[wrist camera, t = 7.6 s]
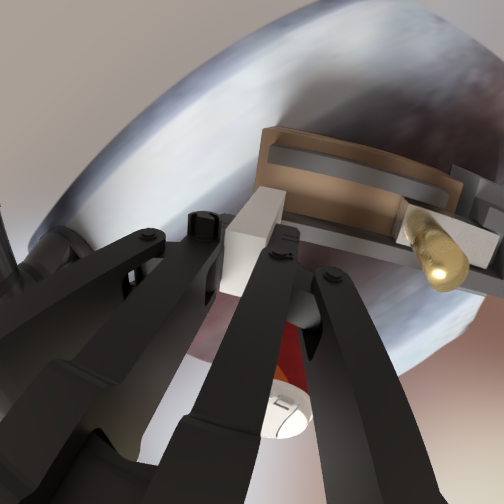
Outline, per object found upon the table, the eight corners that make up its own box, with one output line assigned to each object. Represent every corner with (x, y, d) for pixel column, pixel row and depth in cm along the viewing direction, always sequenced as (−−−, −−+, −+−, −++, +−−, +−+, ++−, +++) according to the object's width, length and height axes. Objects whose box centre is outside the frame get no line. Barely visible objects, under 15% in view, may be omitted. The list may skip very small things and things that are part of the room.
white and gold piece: (391, 232, 20) (416, 289, 14) (402, 196, 19) (437, 239, 12) (477, 258, 19) (518, 313, 12) (490, 227, 18) (538, 274, 11)
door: (263, 205, 29) (242, 238, 22) (275, 126, 25) (256, 130, 18) (414, 242, 26) (437, 284, 19) (437, 168, 22) (474, 190, 15)
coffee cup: (277, 268, 31) (239, 376, 18) (338, 304, 32) (335, 418, 19) (243, 316, 36) (201, 416, 23) (299, 346, 36) (278, 449, 23)
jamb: (423, 254, 26) (448, 302, 19) (452, 163, 22) (496, 186, 14) (464, 266, 26) (495, 313, 18) (495, 183, 21) (541, 210, 13)
